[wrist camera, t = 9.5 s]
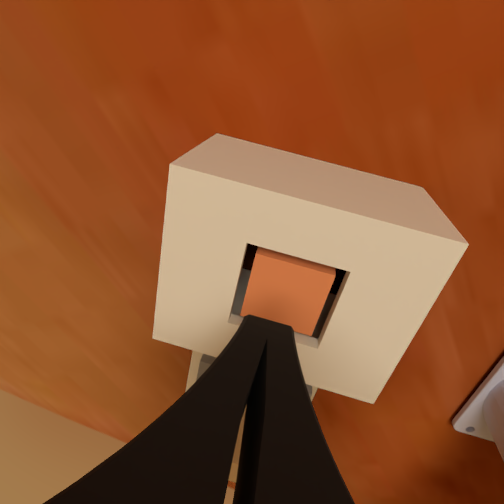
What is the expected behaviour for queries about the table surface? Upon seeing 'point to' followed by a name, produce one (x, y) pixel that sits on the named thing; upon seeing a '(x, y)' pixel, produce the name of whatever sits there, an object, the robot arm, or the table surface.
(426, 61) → the table surface
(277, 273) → the button
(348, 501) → the robot arm
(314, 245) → the cabinet
